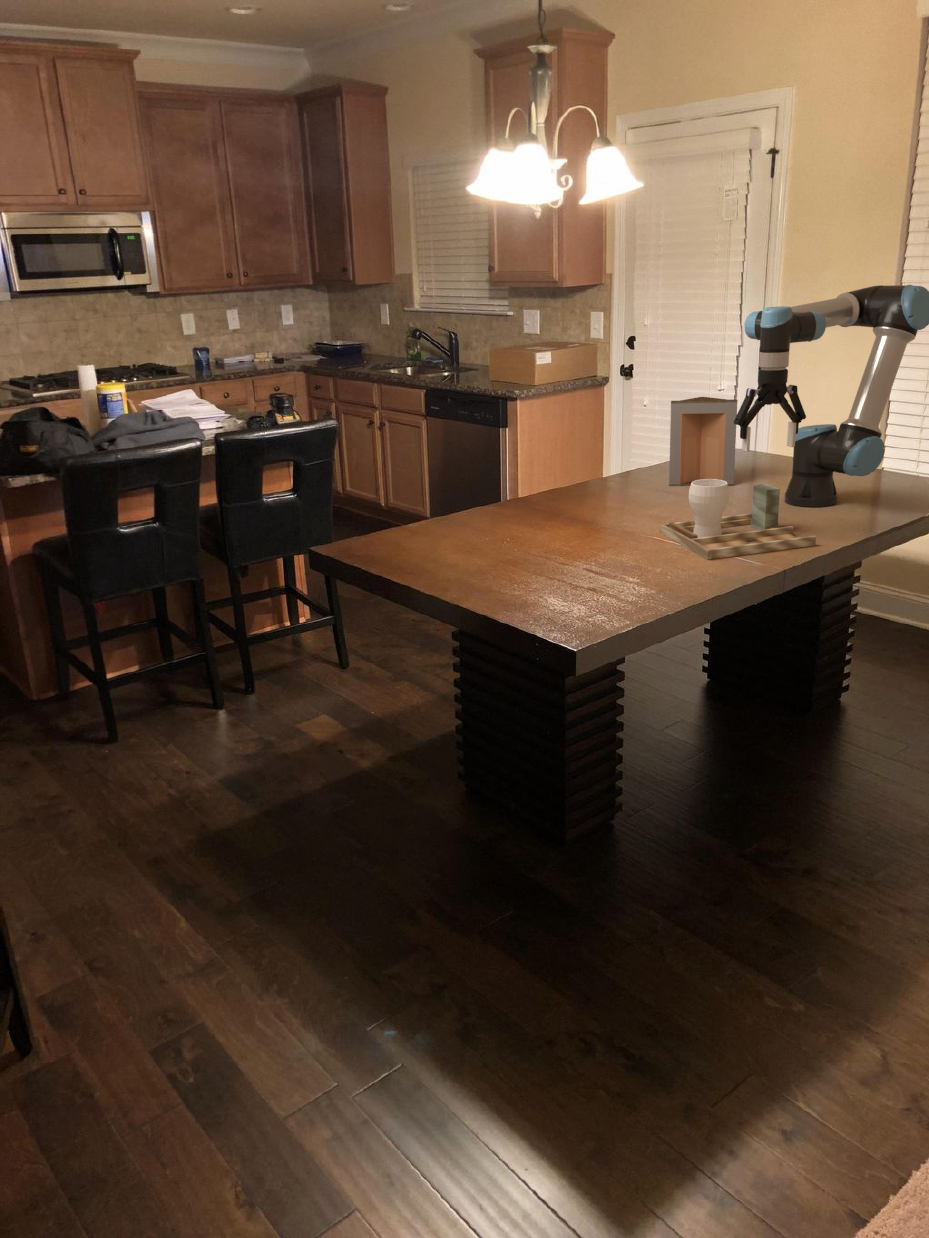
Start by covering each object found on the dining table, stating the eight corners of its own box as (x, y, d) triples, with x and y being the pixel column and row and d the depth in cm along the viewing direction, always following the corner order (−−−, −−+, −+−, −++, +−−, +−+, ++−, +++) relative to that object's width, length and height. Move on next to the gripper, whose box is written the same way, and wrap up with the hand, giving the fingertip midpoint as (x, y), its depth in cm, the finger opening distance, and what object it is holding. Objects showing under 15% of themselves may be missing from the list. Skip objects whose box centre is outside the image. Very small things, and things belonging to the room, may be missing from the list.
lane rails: (759, 520, 281) (759, 512, 280) (815, 545, 255) (816, 536, 254) (659, 532, 274) (660, 524, 273) (707, 559, 248) (707, 550, 248)
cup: (728, 542, 262) (730, 487, 257) (687, 541, 264) (689, 487, 259) (726, 531, 272) (728, 478, 267) (687, 531, 274) (688, 478, 269)
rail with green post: (756, 522, 279) (758, 481, 275) (785, 534, 266) (787, 491, 262) (668, 533, 273) (669, 491, 269) (693, 546, 260) (694, 502, 256)
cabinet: (669, 486, 327) (671, 401, 317) (669, 479, 336) (671, 397, 326) (733, 486, 322) (737, 400, 313) (732, 479, 331) (736, 395, 321)
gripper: (807, 363, 263) (801, 442, 270) (723, 370, 257) (719, 450, 265) (823, 366, 256) (817, 446, 263) (737, 373, 251) (733, 455, 258)
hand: (768, 448), depth 264 cm, fingers open, 13 cm apart
